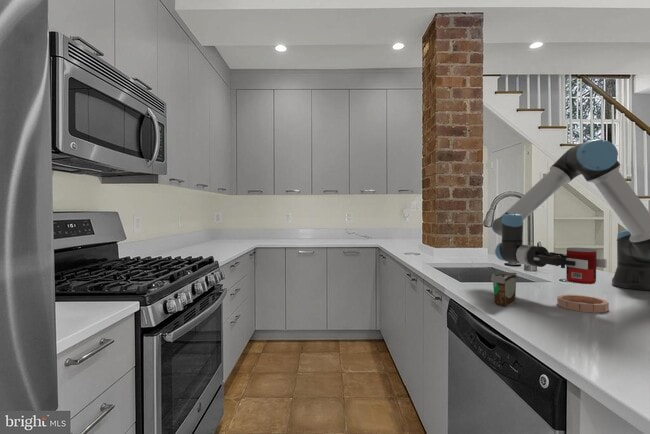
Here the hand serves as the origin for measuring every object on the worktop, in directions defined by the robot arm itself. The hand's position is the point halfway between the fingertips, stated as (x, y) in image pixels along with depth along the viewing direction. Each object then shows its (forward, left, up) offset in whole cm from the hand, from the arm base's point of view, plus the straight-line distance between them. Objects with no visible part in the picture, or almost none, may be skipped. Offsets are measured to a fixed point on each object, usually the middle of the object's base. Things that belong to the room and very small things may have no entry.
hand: (596, 264), depth 113 cm
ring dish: (+1, -5, -15) cm, 15 cm away
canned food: (+1, -5, -7) cm, 8 cm away
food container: (+24, -13, -15) cm, 31 cm away
